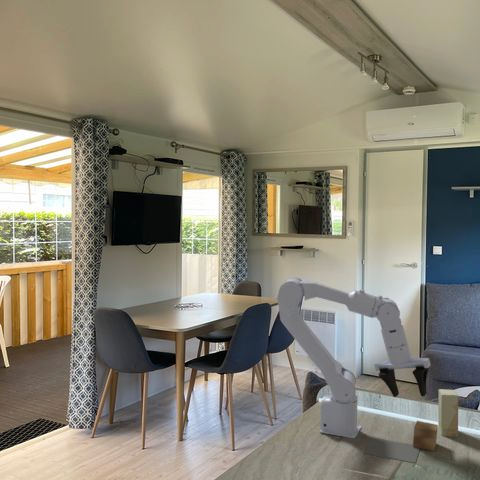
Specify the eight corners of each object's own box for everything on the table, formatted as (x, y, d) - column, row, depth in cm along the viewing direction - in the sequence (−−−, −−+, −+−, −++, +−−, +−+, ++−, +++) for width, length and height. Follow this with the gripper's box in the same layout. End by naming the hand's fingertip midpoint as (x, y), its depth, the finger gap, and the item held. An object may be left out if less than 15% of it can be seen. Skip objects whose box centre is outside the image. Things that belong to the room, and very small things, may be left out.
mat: (363, 454, 131) (363, 453, 131) (372, 439, 140) (372, 437, 140) (415, 464, 126) (415, 462, 126) (420, 447, 135) (420, 445, 135)
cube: (412, 446, 135) (414, 426, 134) (415, 439, 139) (417, 420, 139) (434, 451, 132) (435, 431, 132) (436, 444, 137) (437, 424, 137)
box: (458, 437, 141) (459, 395, 140) (440, 436, 142) (441, 394, 141) (454, 429, 146) (455, 389, 145) (437, 428, 147) (438, 388, 146)
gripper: (428, 337, 140) (442, 388, 140) (377, 342, 149) (390, 390, 149) (418, 346, 134) (433, 399, 134) (366, 350, 144) (379, 400, 144)
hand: (409, 395), depth 141 cm, fingers open, 7 cm apart
